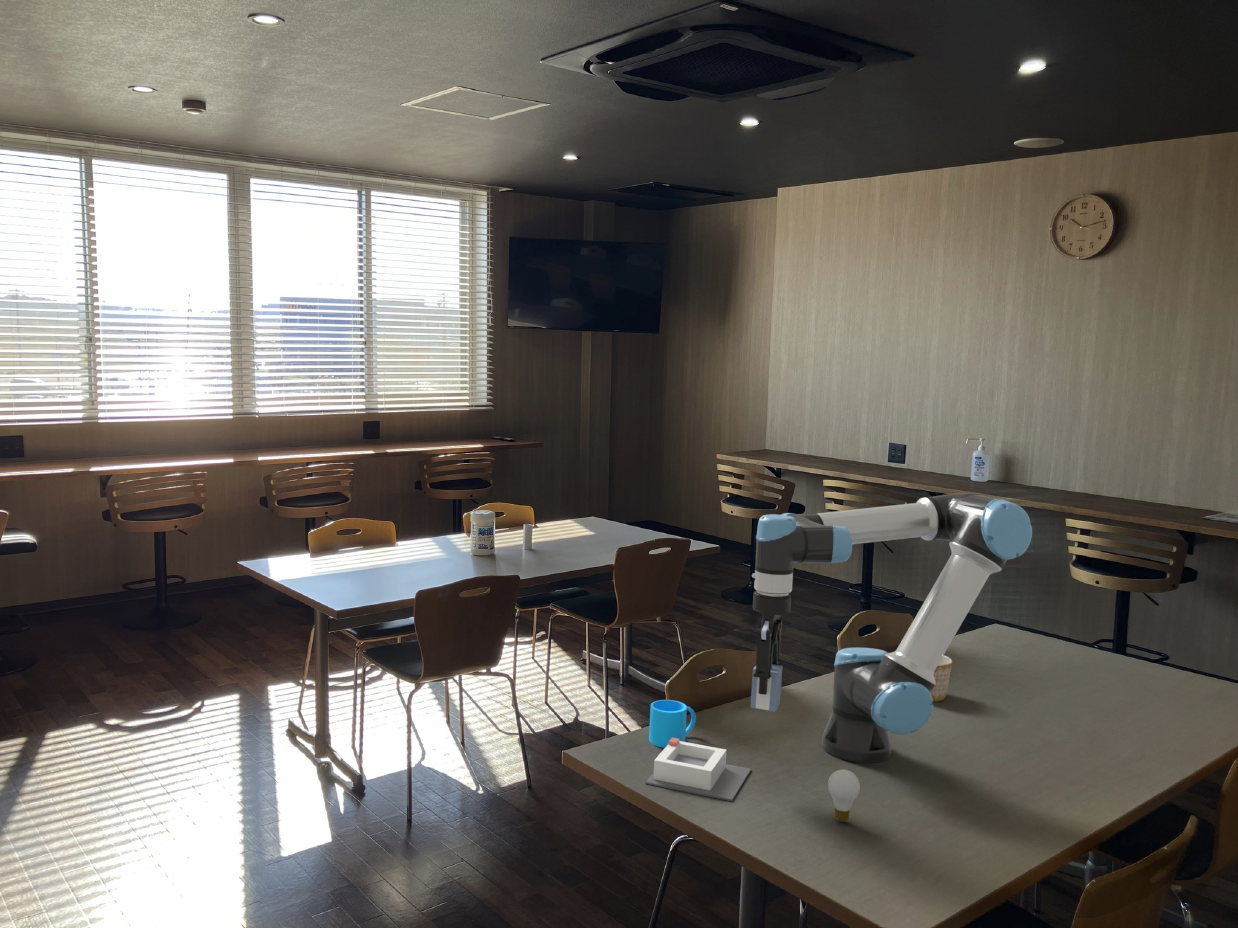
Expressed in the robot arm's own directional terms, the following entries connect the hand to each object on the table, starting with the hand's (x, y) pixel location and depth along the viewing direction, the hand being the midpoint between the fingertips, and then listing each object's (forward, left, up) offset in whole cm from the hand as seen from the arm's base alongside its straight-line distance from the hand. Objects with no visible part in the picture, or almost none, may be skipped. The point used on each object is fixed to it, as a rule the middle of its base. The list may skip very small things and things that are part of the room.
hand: (765, 703), depth 194 cm
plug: (0, 0, 0) cm, 0 cm away
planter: (-28, -73, -17) cm, 80 cm away
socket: (+12, +3, -17) cm, 21 cm away
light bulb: (-18, +10, -17) cm, 26 cm away
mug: (+23, -14, -17) cm, 32 cm away
